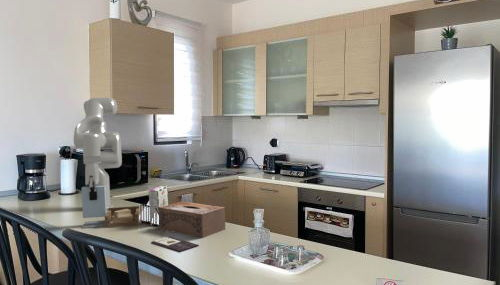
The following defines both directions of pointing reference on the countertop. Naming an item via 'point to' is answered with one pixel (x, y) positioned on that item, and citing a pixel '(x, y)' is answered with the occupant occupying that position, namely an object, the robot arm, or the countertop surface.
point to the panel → (94, 203)
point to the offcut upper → (122, 213)
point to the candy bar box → (157, 199)
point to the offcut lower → (122, 219)
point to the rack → (111, 213)
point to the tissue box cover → (192, 218)
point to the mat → (94, 224)
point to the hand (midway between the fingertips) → (94, 198)
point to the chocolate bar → (174, 244)
